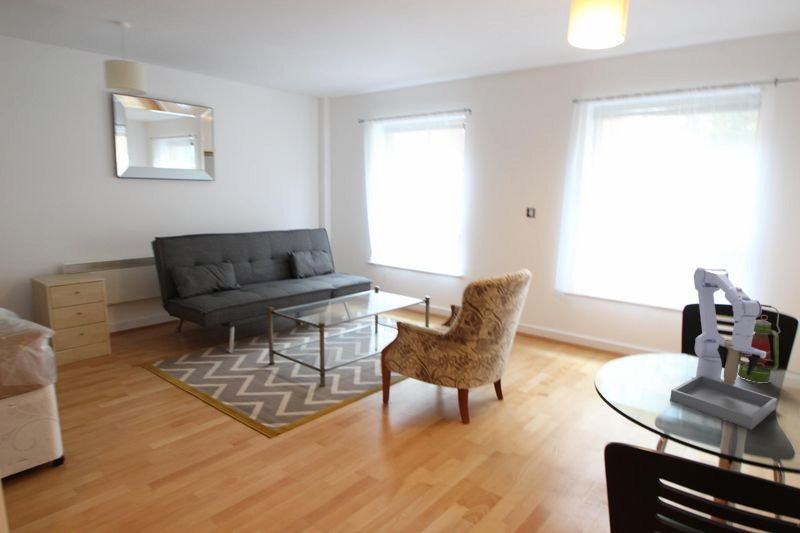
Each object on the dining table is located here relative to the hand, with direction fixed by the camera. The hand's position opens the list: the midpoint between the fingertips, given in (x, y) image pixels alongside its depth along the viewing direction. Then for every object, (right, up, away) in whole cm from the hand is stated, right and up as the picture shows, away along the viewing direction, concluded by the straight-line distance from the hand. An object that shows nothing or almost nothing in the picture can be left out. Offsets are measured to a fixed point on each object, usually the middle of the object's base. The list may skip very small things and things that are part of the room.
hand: (736, 371), depth 168 cm
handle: (-1, -5, +2) cm, 6 cm away
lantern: (+22, -8, +22) cm, 32 cm away
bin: (-8, -11, -4) cm, 14 cm away
